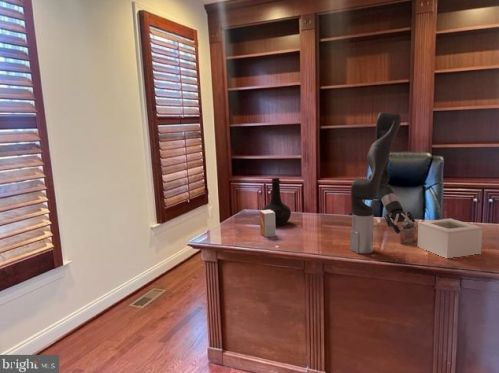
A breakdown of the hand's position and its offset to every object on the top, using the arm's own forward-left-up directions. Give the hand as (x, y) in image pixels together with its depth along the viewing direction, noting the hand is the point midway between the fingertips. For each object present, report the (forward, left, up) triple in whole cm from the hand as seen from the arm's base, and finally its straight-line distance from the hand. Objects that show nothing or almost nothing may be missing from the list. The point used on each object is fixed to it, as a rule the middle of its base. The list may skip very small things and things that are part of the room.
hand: (406, 232), depth 185 cm
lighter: (0, -1, -5) cm, 6 cm away
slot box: (+9, -17, -5) cm, 20 cm away
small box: (-58, +39, -5) cm, 70 cm away
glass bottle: (-46, +59, -5) cm, 75 cm away
